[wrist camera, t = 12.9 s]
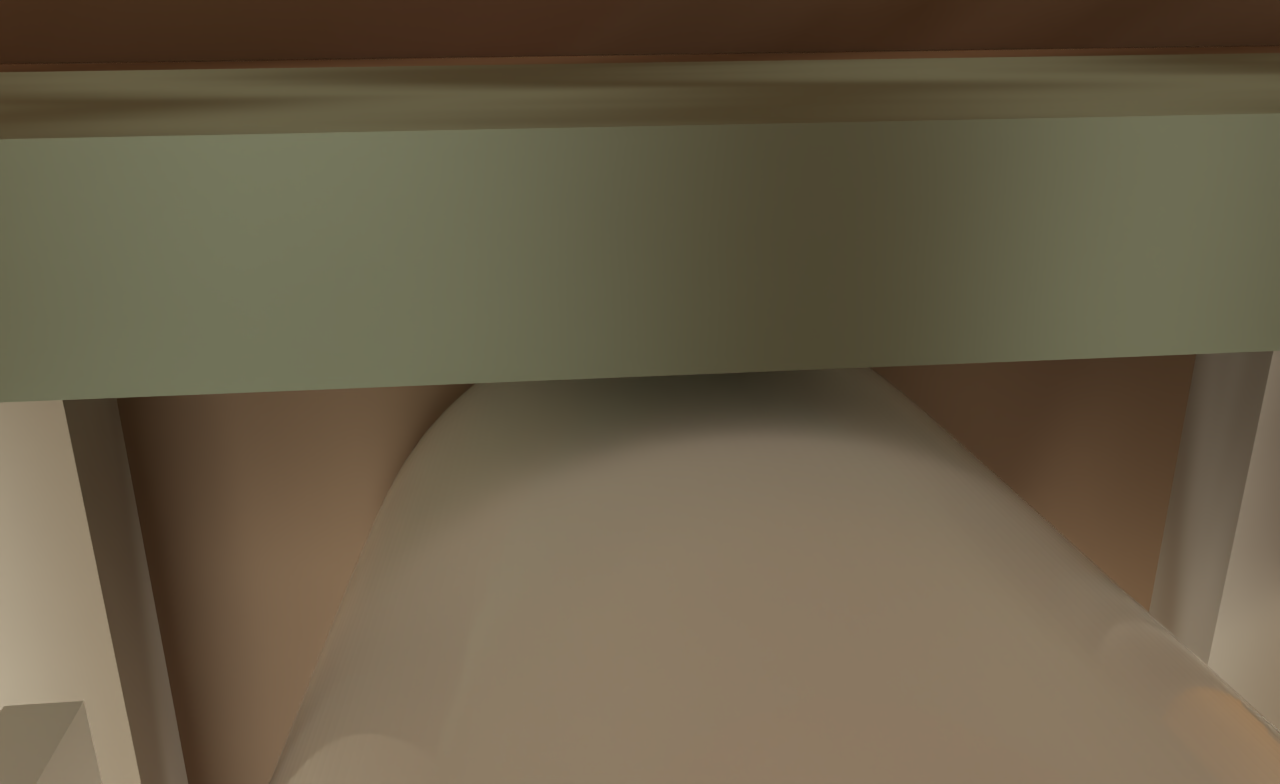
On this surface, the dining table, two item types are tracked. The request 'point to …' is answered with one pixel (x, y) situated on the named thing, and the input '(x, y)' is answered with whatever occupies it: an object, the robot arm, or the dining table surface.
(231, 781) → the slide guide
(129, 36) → the dining table surface
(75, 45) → the dining table surface
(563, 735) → the candle holder
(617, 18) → the dining table surface
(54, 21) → the dining table surface
